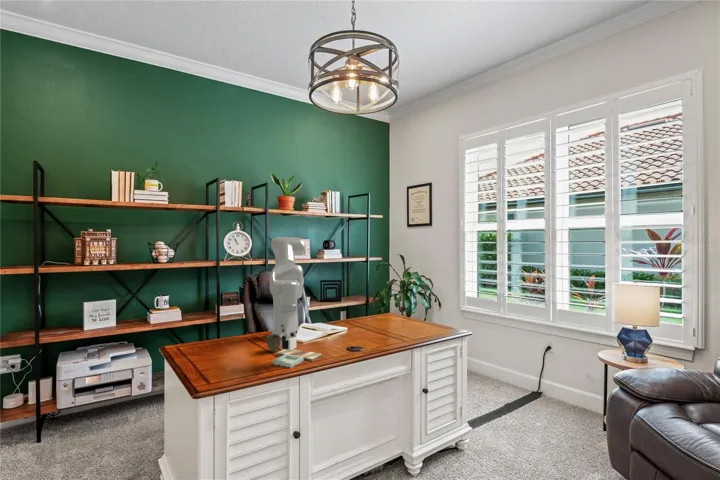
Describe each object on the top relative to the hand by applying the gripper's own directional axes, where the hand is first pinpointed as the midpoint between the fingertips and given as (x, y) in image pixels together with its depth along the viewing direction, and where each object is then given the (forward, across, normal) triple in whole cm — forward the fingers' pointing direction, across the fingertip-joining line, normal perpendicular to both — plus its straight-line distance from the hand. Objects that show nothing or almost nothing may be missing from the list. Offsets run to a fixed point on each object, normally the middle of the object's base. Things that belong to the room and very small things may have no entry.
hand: (288, 346), depth 172 cm
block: (+1, 0, 0) cm, 1 cm away
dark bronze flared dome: (+8, -11, -17) cm, 22 cm away
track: (+7, -11, -2) cm, 14 cm away
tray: (+8, 0, 0) cm, 8 cm away
